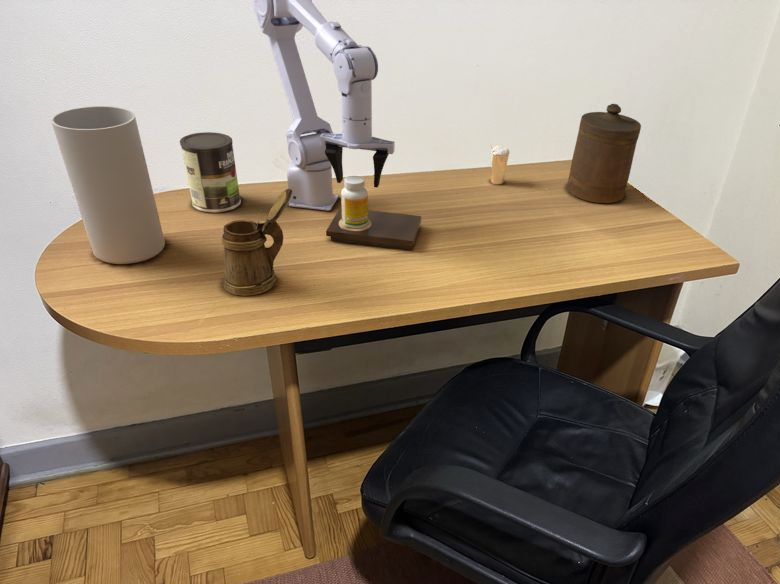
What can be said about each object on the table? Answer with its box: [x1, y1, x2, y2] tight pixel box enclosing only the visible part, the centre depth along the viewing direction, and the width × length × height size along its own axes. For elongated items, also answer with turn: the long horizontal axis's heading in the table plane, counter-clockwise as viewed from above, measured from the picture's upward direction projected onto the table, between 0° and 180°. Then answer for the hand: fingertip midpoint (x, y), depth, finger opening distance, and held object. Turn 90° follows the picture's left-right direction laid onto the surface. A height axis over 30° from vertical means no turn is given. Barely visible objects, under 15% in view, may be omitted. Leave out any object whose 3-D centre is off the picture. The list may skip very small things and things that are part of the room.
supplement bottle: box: [340, 175, 369, 228], centre depth 128 cm, size 5×5×10 cm
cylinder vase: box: [50, 105, 166, 265], centre depth 112 cm, size 12×12×25 cm
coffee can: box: [179, 131, 242, 213], centre depth 135 cm, size 10×10×14 cm
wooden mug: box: [221, 188, 293, 297], centre depth 109 cm, size 9×14×18 cm, turn 103°
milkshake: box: [489, 144, 510, 185], centre depth 159 cm, size 5×5×10 cm
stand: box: [325, 206, 423, 251], centre depth 133 cm, size 18×12×3 cm, turn 85°
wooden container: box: [566, 103, 642, 204], centre depth 155 cm, size 15×15×22 cm
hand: (358, 183), depth 128 cm, fingers open, 7 cm apart
